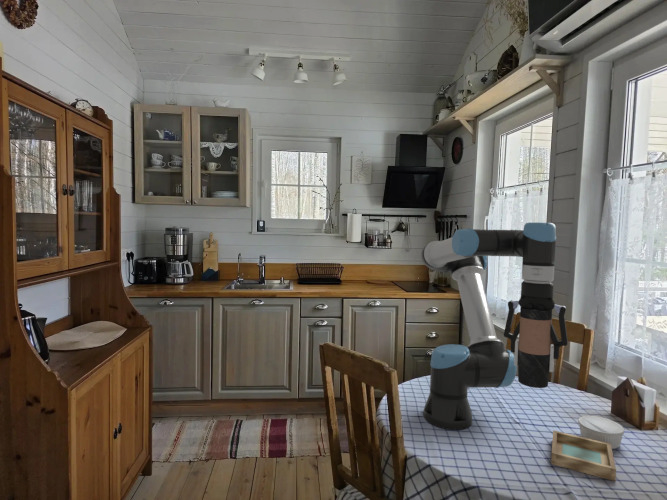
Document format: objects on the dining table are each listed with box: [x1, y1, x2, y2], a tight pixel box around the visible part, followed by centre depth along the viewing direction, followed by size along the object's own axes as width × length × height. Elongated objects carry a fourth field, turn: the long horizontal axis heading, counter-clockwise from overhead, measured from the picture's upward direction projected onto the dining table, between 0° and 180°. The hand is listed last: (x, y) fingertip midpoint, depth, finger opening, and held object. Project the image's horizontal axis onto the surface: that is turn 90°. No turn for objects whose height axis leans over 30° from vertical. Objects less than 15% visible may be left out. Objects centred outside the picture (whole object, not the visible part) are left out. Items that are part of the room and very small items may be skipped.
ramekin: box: [577, 415, 625, 450], centre depth 119 cm, size 11×11×5 cm
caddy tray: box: [550, 429, 617, 482], centre depth 109 cm, size 14×14×3 cm
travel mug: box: [517, 306, 553, 389], centre depth 107 cm, size 8×8×20 cm
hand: (533, 367), depth 107 cm, fingers closed on travel mug, 8 cm apart
